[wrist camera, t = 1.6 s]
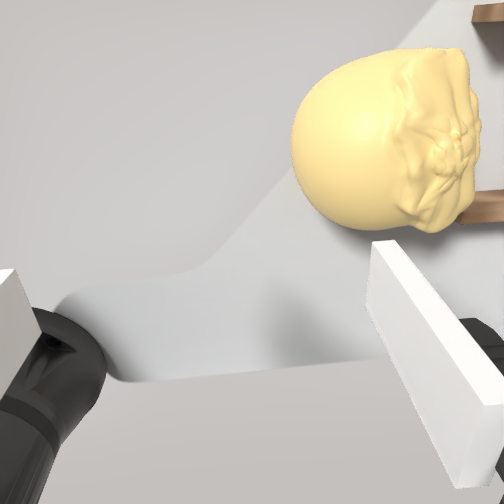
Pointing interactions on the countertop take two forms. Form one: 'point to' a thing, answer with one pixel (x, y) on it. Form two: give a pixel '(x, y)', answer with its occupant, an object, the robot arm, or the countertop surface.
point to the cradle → (495, 201)
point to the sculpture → (390, 140)
